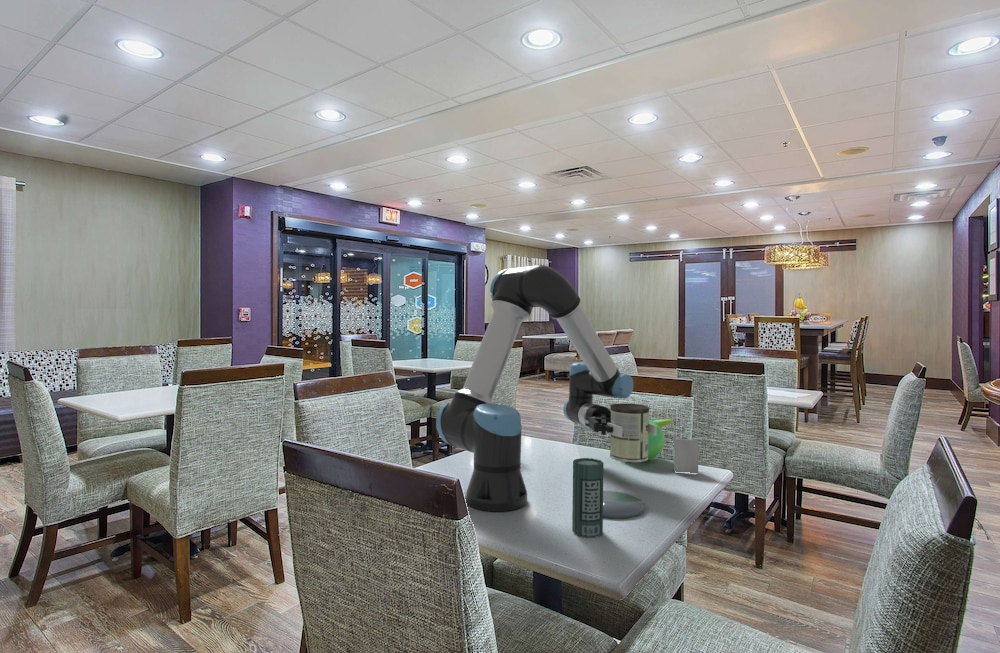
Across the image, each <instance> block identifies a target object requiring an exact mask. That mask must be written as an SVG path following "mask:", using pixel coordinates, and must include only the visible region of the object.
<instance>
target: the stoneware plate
mask: <svg viewBox="0 0 1000 653" xmlns="http://www.w3.org/2000/svg"><path fill="white" fill-rule="evenodd" d="M643 513H645V503H644V501H643V500H642V499H641V498H639V497H638V496H634V495H632V494H630V493H625V492H621V491H616V490H615V491H614V490H603V519H604V518H606V519H615V520H616V519H631V518H634V517H637V516H641V515H642V514H643Z"/></svg>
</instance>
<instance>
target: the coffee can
mask: <svg viewBox="0 0 1000 653" xmlns="http://www.w3.org/2000/svg"><path fill="white" fill-rule="evenodd" d="M610 411H611V423H612V424H615V425H618V426H621V427H623V431H622V438H620V437H617V436H614V435H612V434H610V437H609V438H610V444H609V446H610V448H609V450H610V451H609V452H610V454H609V457H610V458H611V459H612V460H615V461H618V462H624V463H625V462H626V463H644V462H647V461H648V460H649V459H648V429H649V419H650V417H649V416H650V414H649V413H650V407H649V406H648V405H645V404H644V405H643V404H638V403H614V404H611V405H610Z"/></svg>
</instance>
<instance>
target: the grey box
mask: <svg viewBox="0 0 1000 653" xmlns="http://www.w3.org/2000/svg"><path fill="white" fill-rule="evenodd" d="M672 461H673V467H672V468H673V469H674V471H676V472H690V473H698V474H699V440H698V439H688V438H673V460H672ZM674 471H673V472H674Z"/></svg>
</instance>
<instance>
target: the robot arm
mask: <svg viewBox="0 0 1000 653" xmlns="http://www.w3.org/2000/svg"><path fill="white" fill-rule="evenodd" d="M489 288H490V289H489V292H490V293H491V294H490V297H491V307H492V310H493V313H492V315H491V317H490V320H489V323H488V325H487V327H486V329H485V333H484V334H483V337H482V340H481V342H480V345H479V347H478V350H477V352H476V354H475V357H474V359H473V361H472V365H471V366H470V370H469V372H468V375H467V377H466V379H465V382H464V383H463V387H462V388H461V389H458V390H456V391H455V393H454V395H453V397H452V399H451V401H448V402H447V403H446V404H443V405H442V406H441V408H440V409H439V410H438V412H437V415H436V419H435V423H436V424H435V425H436V426H435V427H436V430H437V434H438V436H439V438H440V439H441V440H442V441H443V442H444V443H446V444H448V445H449V446H451V447H454V448H456V449H461V450H464V451H467V452H470V453H473V470H472V474H471V478H470V480H469V483H468V487H467V489H466V496H465V497H466V499H465V501H467V502H466V504H467V505H468V506H469V507H472V508H474V509H477V510H481V511H486V512H509V511H514V510H518V509H521V508H523V507H525V506H526V504H527V503H528V490H527V488H526V484H525V481H524V477H523V474H522V471H521V470H522V469H521V460H522V459H521V457H522V456H521V455H522V430H523V429H522V428H523V427H522V426H523V425H522V419H521V418H522V417H521V414H520V412H519V411H518V409H516V408H515V407H512V406H510V405H507V404H499V403H494V402H493V401H494V400H493V399H494V396H495V393H496V391H497V388H498V384H499V382H500V380H501V377H502V374H503V372H504V370H505V367H506V365H507V362H508V360H509V357H510V354H511V351H512V349H513V346H514V344H515V341H516V338H517V335H518V333H519V330H520V329H521V325H522V323H523V322H525V321H527V320H529V318H530V316H531V314H532V312H533V309H534V308H541V309H543V310H545V311H546V313H547V314H548V315H549V317H550V318H551V319H553V320H556V321H557V323H558V324H559V326H560V327H561V328H562V330H563V332H564V333H565V336H567V338H568V340H569V341H570V343H571V344H572V346H573V348H574V349H575V351H576V352H577V354H578V356H579V357H580V359H581V360H582V362H573V363H572V364H570V367H569V375H568V377H569V378H568V379H569V380H568V382H569V383H568V384H569V385H568V389H569V390H568V392H569V393H568V400H566V401H565V403H564V406H563V409H562V410H563V414H564V417H565V418H566V419H567V420H568V421H570V422H572V423H575V424H577V425H581V426H582V427H583V426H584V427H585V428H588V429H589V430H592V431H593V432H594V433H599V432H601V435H602V436H606V434H609V435H611V434H612V435H614V436H617V437H620V438H622V431H623V427H621V426H618V425H615V424H612V423H611V409H609V408H608V407H607V406H603V405H599V404H597V403H593V399H594V398H593V397H594V396H595V395H596V396H601V397H606V398H612V399H623V400H625V399H627V398H629V397H630V396H631V395H632V393H633V390H634V380H633V377H632V376H631V375H629V374H628V373H624V372H620V370H619V368H618V367H617V365H616V364H615V362H614V360H613V358H612V357H611V355H610V353H609V352H608V350H607V349H606V347H605V345H604V343H603V342H602V340H601V339H600V338H601V337H599V335H598V333H597V332H596V330H595V328H594V326H593V324H591V322H590V320H589V318H588V317H587V315H586V313H585V312H584V310H583V308H582V307H581V298H580V296H579V294H578V293H577V291H576V289H575V288H574V287H573V285H572V284H571V283H570V282H569V281H568V280H567V278H565V277H564V276H563V275H562V274H561V273H560V272H559V271H557V270H556V269H554V268H553V267H550V266H548V265H543V264H536V265H535V264H534V265H529V266H528V265H527V266H521V267H519V266H512V267H508V268H505V269H502V270H500V271H499V272H497V273H496V274H495V276H494V277H493V278H492V281H491V283H490V287H489ZM648 434H651V435H654V436H655V435H657V425H654V424H651V423H649V429H648Z"/></svg>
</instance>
